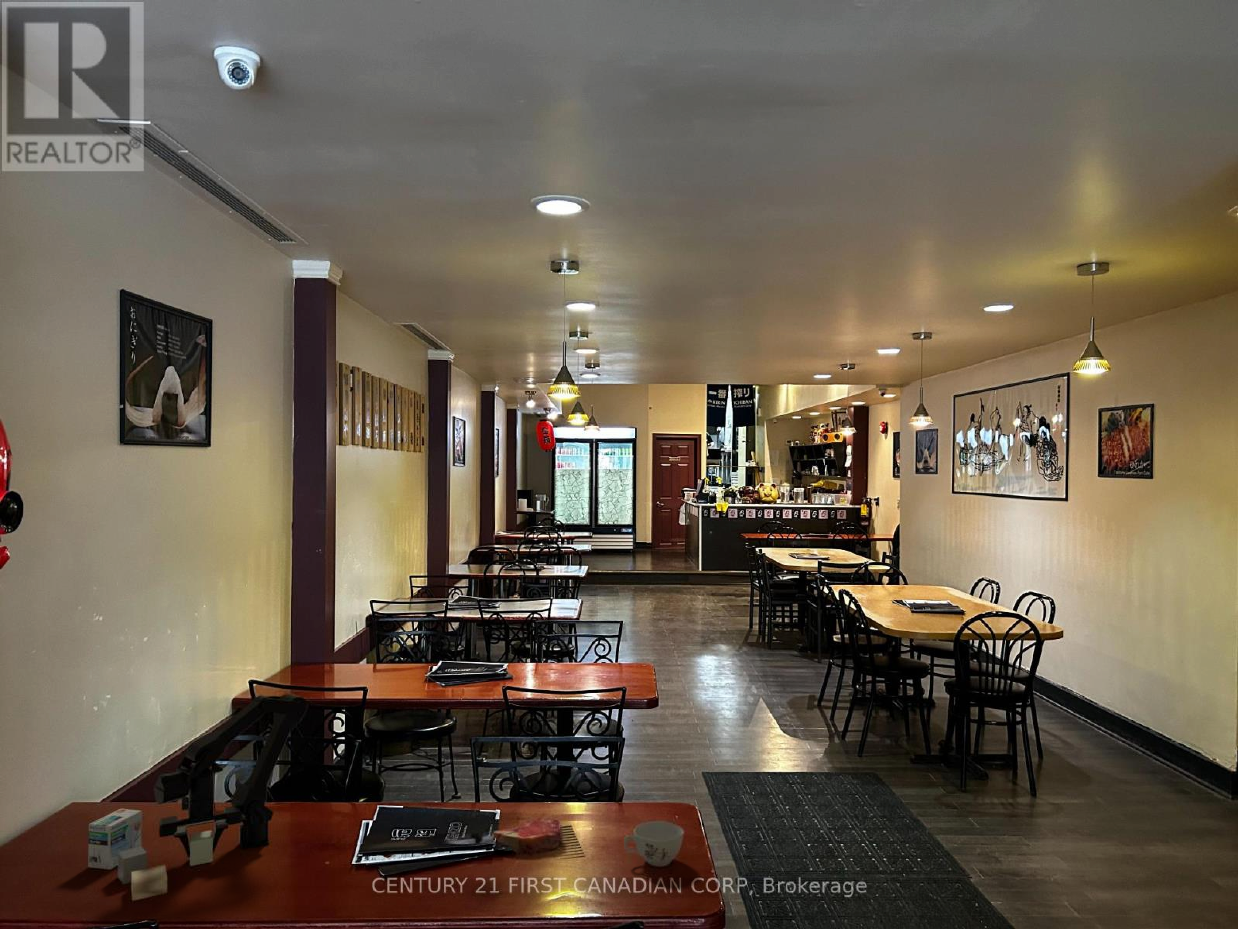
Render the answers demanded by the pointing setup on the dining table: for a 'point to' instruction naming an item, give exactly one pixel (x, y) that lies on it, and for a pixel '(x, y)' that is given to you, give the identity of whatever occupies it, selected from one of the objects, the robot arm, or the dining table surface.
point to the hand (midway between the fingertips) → (201, 855)
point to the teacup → (656, 842)
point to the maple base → (148, 882)
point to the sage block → (201, 848)
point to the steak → (537, 837)
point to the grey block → (131, 863)
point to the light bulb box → (113, 837)
